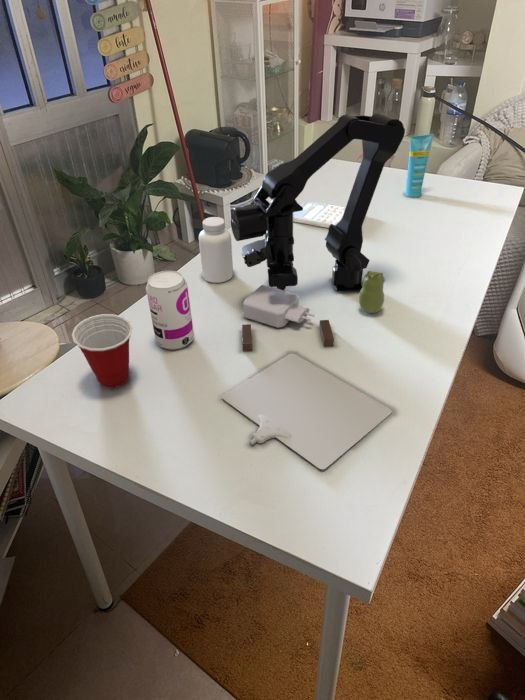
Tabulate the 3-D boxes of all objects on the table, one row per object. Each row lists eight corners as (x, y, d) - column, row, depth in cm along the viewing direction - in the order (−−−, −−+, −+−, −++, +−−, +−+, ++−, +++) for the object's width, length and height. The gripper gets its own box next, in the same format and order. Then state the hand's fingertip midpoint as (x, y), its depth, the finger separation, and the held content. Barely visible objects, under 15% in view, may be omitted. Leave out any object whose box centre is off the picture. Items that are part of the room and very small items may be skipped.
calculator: (349, 232, 154) (350, 226, 153) (288, 221, 162) (287, 215, 160) (365, 215, 163) (365, 209, 162) (306, 205, 171) (306, 199, 170)
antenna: (204, 409, 97) (203, 404, 96) (291, 354, 110) (292, 350, 109) (305, 487, 82) (306, 482, 82) (393, 413, 95) (394, 408, 95)
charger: (302, 337, 114) (243, 319, 120) (321, 316, 120) (264, 299, 126) (302, 319, 111) (242, 301, 117) (322, 298, 117) (263, 282, 123)
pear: (355, 314, 120) (359, 276, 114) (360, 302, 124) (364, 264, 118) (380, 319, 118) (385, 280, 112) (384, 306, 122) (389, 268, 116)
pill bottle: (229, 284, 132) (225, 228, 123) (198, 282, 134) (192, 226, 125) (237, 269, 138) (233, 215, 129) (207, 267, 140) (201, 213, 131)
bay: (328, 327, 116) (328, 319, 115) (333, 346, 111) (333, 338, 110) (242, 332, 116) (241, 324, 115) (242, 351, 110) (242, 343, 109)
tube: (405, 199, 173) (414, 137, 161) (399, 193, 176) (407, 133, 165) (426, 196, 174) (436, 135, 162) (419, 191, 178) (429, 131, 166)
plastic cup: (115, 404, 99) (101, 354, 91) (74, 385, 103) (58, 335, 96) (154, 372, 106) (144, 323, 99) (114, 355, 111) (102, 307, 103)
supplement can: (200, 332, 116) (192, 272, 107) (183, 354, 110) (174, 292, 101) (167, 326, 119) (157, 266, 109) (149, 347, 112) (137, 286, 103)
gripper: (242, 215, 122) (245, 274, 132) (243, 253, 107) (247, 316, 117) (290, 213, 122) (290, 272, 132) (298, 250, 108) (297, 314, 117)
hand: (280, 292), depth 125 cm, fingers closed
